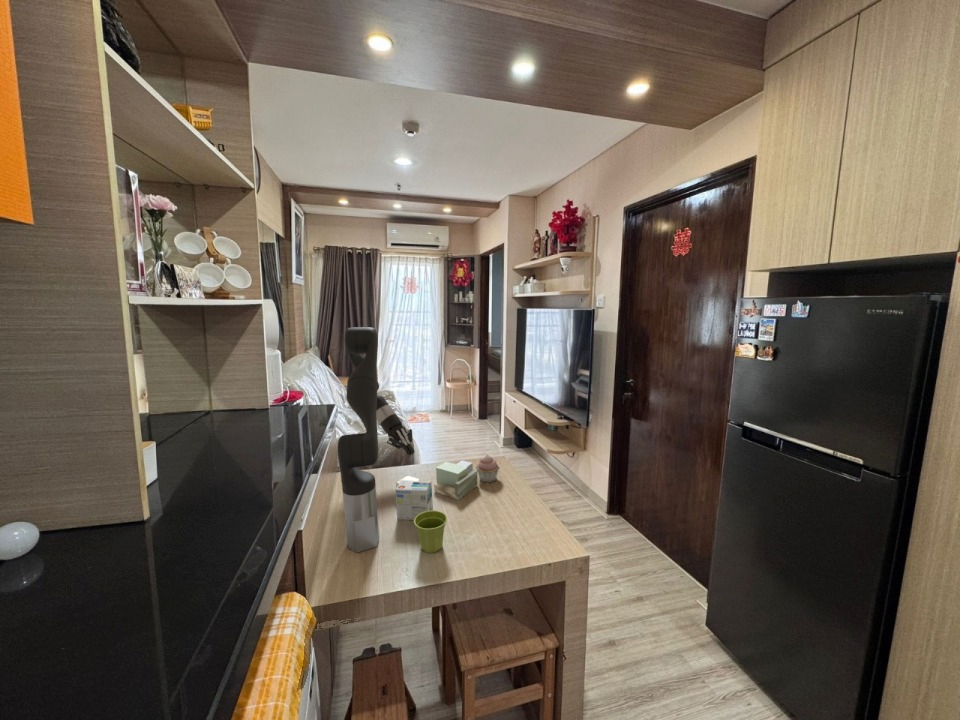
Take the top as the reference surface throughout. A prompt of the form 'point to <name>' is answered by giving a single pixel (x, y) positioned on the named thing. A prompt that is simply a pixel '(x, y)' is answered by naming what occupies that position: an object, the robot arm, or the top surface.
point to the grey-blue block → (466, 465)
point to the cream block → (407, 480)
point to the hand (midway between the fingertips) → (412, 454)
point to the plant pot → (430, 530)
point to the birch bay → (458, 486)
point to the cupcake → (487, 469)
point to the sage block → (450, 473)
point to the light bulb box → (413, 498)
